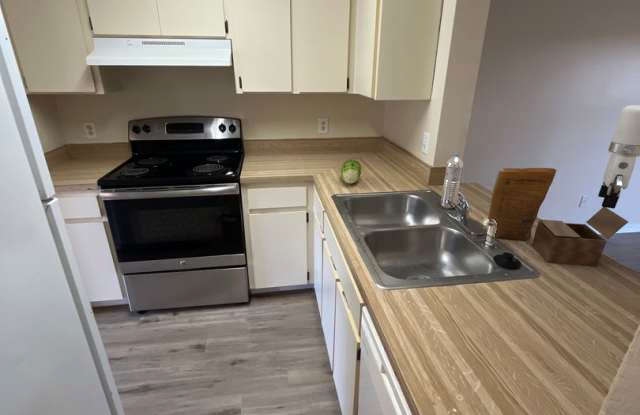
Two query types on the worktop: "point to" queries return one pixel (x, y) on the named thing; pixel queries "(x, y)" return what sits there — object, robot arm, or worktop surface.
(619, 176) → the robot arm
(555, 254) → the carton
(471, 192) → the worktop surface
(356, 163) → the lettuce
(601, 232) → the flap
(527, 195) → the wooden cutting board
